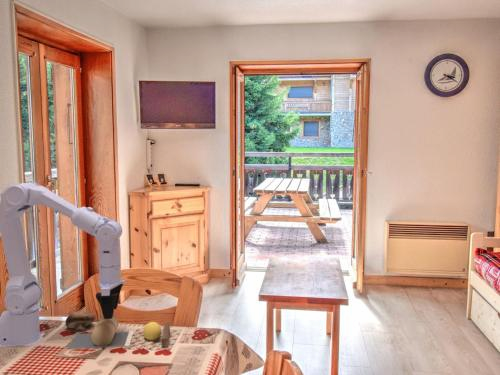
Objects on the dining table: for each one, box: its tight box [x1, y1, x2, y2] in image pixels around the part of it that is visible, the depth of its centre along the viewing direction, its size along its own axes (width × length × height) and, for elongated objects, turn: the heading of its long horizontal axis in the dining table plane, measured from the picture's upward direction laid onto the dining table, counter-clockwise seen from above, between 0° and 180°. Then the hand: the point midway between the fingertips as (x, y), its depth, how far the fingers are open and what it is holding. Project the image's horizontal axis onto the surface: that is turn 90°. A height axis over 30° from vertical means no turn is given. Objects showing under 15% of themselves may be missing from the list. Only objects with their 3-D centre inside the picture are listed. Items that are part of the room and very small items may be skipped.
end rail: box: [161, 322, 171, 349], centre depth 128 cm, size 2×12×2 cm, turn 8°
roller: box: [91, 315, 119, 346], centre depth 125 cm, size 6×9×6 cm, turn 8°
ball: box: [142, 321, 162, 341], centre depth 127 cm, size 5×5×5 cm
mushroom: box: [65, 310, 96, 332], centre depth 134 cm, size 8×8×6 cm
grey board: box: [66, 330, 134, 350], centre depth 125 cm, size 16×10×1 cm, turn 98°
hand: (110, 313), depth 125 cm, fingers open, 7 cm apart
